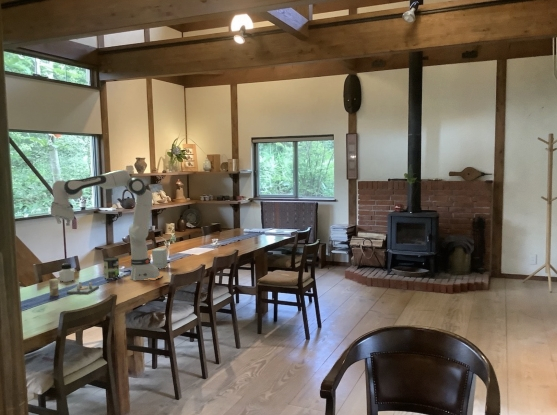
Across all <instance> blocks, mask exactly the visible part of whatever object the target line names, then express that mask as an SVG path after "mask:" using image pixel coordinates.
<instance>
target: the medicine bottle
mask: <svg viewBox="0 0 557 415" xmlns="http://www.w3.org/2000/svg"><path fill="white" fill-rule="evenodd" d="M58 275H59V278H58V279H59V282H62V281H63V282H62V283H68V282H73V281H75V270H74V269H72V264H71V263H68V262H67V263H62V264H61V270H59V271H58ZM72 280H73V281H72Z"/></svg>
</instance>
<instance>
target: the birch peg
mask: <svg viewBox="0 0 557 415" xmlns="http://www.w3.org/2000/svg"><path fill="white" fill-rule="evenodd" d="M48 282H49V285H48V286H49V296H50V297H57V296H60V293H59V292H60V291H59V278H52V279H49V280H48Z"/></svg>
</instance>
